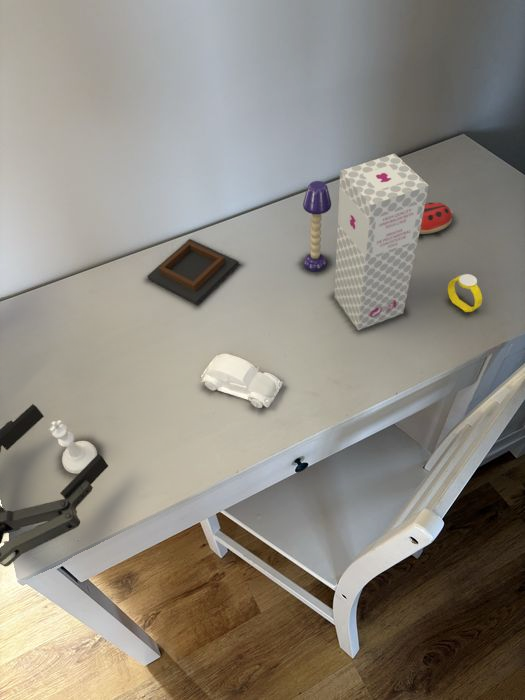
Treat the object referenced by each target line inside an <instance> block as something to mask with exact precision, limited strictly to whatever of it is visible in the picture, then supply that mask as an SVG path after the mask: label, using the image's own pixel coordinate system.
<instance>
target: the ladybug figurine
mask: <svg viewBox="0 0 525 700" xmlns="http://www.w3.org/2000/svg"><path fill="white" fill-rule="evenodd" d="M453 214H454V213H453V211H452V210H451V209H450V208H449V207H448V206H447V205H446V204H444V203H442V202H428V203H425V207H424V212H423V217H422V222H421V227H420V232H419V235H428V234H434V233H436V232H440V231H442V230H444V229H446V228H447V227H449V226H450V225H451V223H452V220H453Z"/></svg>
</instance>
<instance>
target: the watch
mask: <svg viewBox="0 0 525 700" xmlns="http://www.w3.org/2000/svg"><path fill="white" fill-rule="evenodd" d="M456 282H458V285H459V286H460V287H461V288H463V289H465V290H466V289H467V290H470V292H471V293H472V295H473V299H474V305H473V306H470V304H467V302H465V301H464V300H461V299H460V298H459V296H458V295H457V293H456V287H455V285H456ZM477 284H478V278H477V277H475V276H474V275H473V274H470V273H464V274H461V275H457V276H456V277H454V278H453V279H452V280H451V281H449V283H448V284H447V293H448V294H447V295H448V298H449V300H450V301H451V303H452V304H453V305H455V306H456V307H457V308H459V309H461V310H462V311H463V312H464V313H472V312H474V311H475V310H477V309H478V308H479V307H480V306H481V305H482V302H483V295H482V292H481V288H480V287H479V286H478V285H477Z"/></svg>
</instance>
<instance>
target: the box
mask: <svg viewBox="0 0 525 700" xmlns="http://www.w3.org/2000/svg"><path fill="white" fill-rule="evenodd" d="M429 187H430V185H429V184H428V183H427V182H426V181H425V180H424V179H422V178H421V176H419V175H418V174H417V173H416V172H415V171H414V170H413V169H412V168H411V167H410V166H408V164H406V163H405V162H404V161H403V160H402V159H401V158H400V157H399V156H398V155H397V154H396V153H391V154H388V155H384V156H382V157H379V158H376V159H372V160H369V161H365V162H363V163H360V164H357V165H354V166H353V165H352V166H351V167H347V168H344V169H341V170H339V187H338V189H339V190H338V210H337V229H336V230H337V231H336V232H337V233H336V251H335V252H336V254H335V275H334V276H335V278H334V299H335V300H336V302H338V304H339V305H340V307H341V308H342V310H343V311H344V313H345V314H346V315H347V317H348V318H349V320H350V321H351V322H352V324H353V325H354V326H355V328H356V329H357V330H358V331H361V330H364V329H367V328H369V327H371V326H374V325H376V324H379V323H382V322H384V321H386V320H389V319H392V318H395V317H397V316H400V315H402V314H404V312H405V308H406V302H407V297H408V292H409V287H410V282H411V278H412V277H411V276H412V271H413V267H414V263H415V256H416V251H417V247H418V242H419V236H420V234H419V232H420V227H421V222H422V217H423V212H424V207H425V204H426V202H427V196H428V193H429V192H428V191H429Z"/></svg>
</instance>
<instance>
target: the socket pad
mask: <svg viewBox="0 0 525 700" xmlns="http://www.w3.org/2000/svg"><path fill="white" fill-rule="evenodd" d="M239 265H240V264H239V261H238V260H237V259H234V258H232V257H230V256H228V255H225V254H223V253H221V252H219V251H217V250H215V249H213V248H210V247H209V246H206V245H204V244H202V243H200V242H197V241H195V240H193V239H191V238H189V239H188V240H187V241H186V242H184V243H183V244H182V245H181V246H180V247H178V248H177V249H176V250H175V251H174V252H173V253H171V254H170V256H168V257H167V258H166V259H165V260H164V261H163V262H161V263H160V264H159V265H158V266H157V267H156V268H155V269H153V270H152V271H151V272H150V273H149V274H148V275H147V280H148V281H150V282H152V283H154V284H156V285H158V286H160V287H161V288H163V289H166V290H167V291H169V292H171V293H173V294H175V295H176V296H178V297H179V298H182V299H184V300H186V301H188V302H190V303H192V304H193V305H196V306H198V305H199V304H200V303H201V302H202V301H203V300H205V298H206V297H207V296H208V295H210V293H211V292H213V290H215V289H216V288H217V287H218V286H219V285H220V284H221V283H222V282H223V281H224V280H225V279H226V278H227V277H228V276H229V275H230V274H231V273H232V272H233V271H234V270H235V269H237V267H238V266H239Z"/></svg>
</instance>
